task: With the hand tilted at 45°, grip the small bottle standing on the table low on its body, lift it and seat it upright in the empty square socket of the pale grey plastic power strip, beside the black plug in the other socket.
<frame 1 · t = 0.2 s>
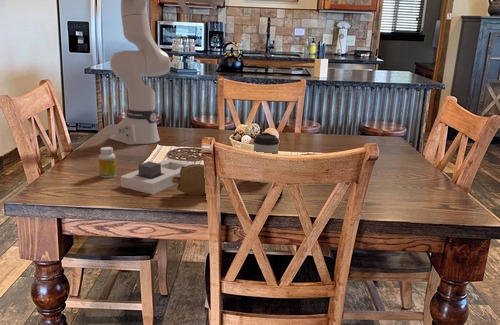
hand: (200, 14, 152), 54 cm above the table, tool tilted 30°, fingers open, 8 cm apart
supplement bottle: (108, 176, 164), on the table
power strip: (161, 180, 161), on the table
wooden carving: (198, 195, 149), on the table
controller: (277, 195, 151), on the table
coffee cup: (264, 176, 169), on the table
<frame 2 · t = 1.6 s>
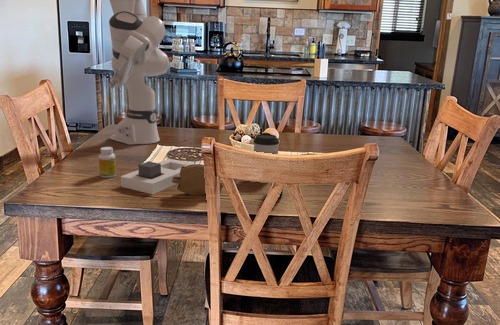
hand: (113, 78, 151), 34 cm above the table, tool tilted 55°, fingers open, 8 cm apart
nothing on the table moved.
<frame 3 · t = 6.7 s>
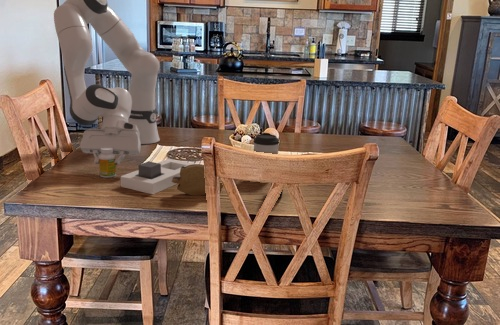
hand: (106, 163, 162), 4 cm above the table, tool tilted 45°, fingers closed on supplement bottle, 5 cm apart
supplement bottle: (108, 176, 164), on the table, touching gripper
everything else where it was.
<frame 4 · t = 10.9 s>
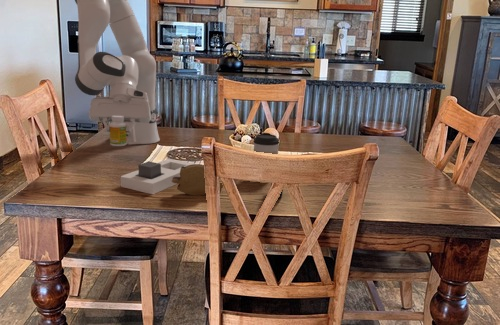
hand: (117, 131, 159), 16 cm above the table, tool tilted 45°, fingers closed on supplement bottle, 5 cm apart
supplement bottle: (118, 145, 160), point 11 cm above the table, touching gripper
everything else where it was.
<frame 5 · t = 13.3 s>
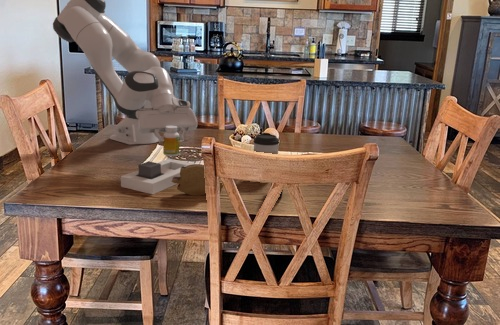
hand: (171, 141, 162), 12 cm above the table, tool tilted 45°, fingers closed on supplement bottle, 5 cm apart
supplement bottle: (171, 154, 164), point 7 cm above the table, touching gripper
everything else where it was.
when the fingers open (6 cm above the table, at t = 15.5 s): supplement bottle drops 1 cm, resting in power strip.
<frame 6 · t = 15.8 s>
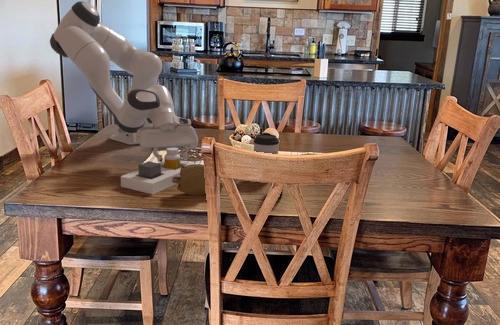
hand: (173, 159, 164), 6 cm above the table, tool tilted 45°, fingers open, 7 cm apart
supplement bottle: (172, 176, 166), resting in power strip
everything else where it was.
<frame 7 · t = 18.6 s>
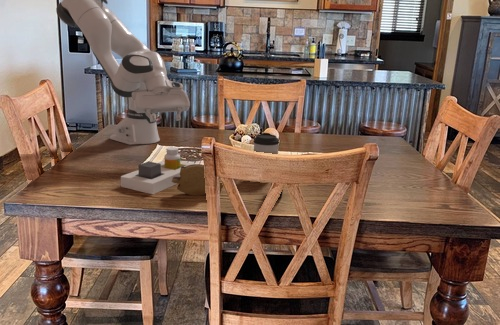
hand: (165, 120, 173), 17 cm above the table, tool tilted 45°, fingers open, 8 cm apart
nothing on the table moved.
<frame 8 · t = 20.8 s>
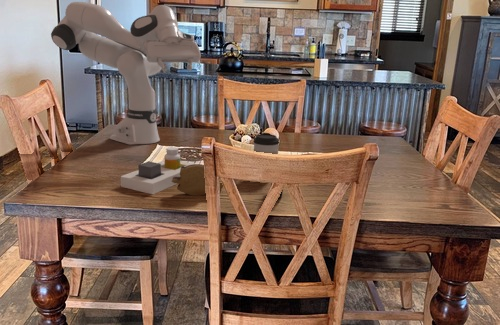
hand: (177, 69, 176), 34 cm above the table, tool tilted 45°, fingers open, 8 cm apart
nothing on the table moved.
at the end: supplement bottle 0.1 cm from the target spot, resting in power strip; supplement bottle tilted 0°; the gripper is holding nothing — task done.
